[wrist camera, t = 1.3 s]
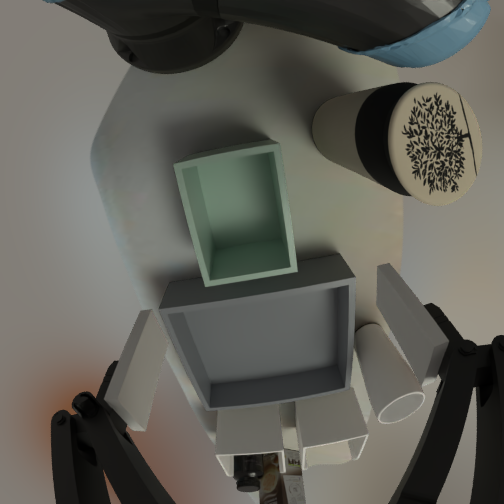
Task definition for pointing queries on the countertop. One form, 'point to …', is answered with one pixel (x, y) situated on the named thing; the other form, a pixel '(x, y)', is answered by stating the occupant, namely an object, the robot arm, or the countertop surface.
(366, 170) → the travel mug
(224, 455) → the white cubby shelf
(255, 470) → the supplement bottle
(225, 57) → the countertop surface
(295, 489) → the coffee box
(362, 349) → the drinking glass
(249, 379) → the big crate
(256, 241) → the box
